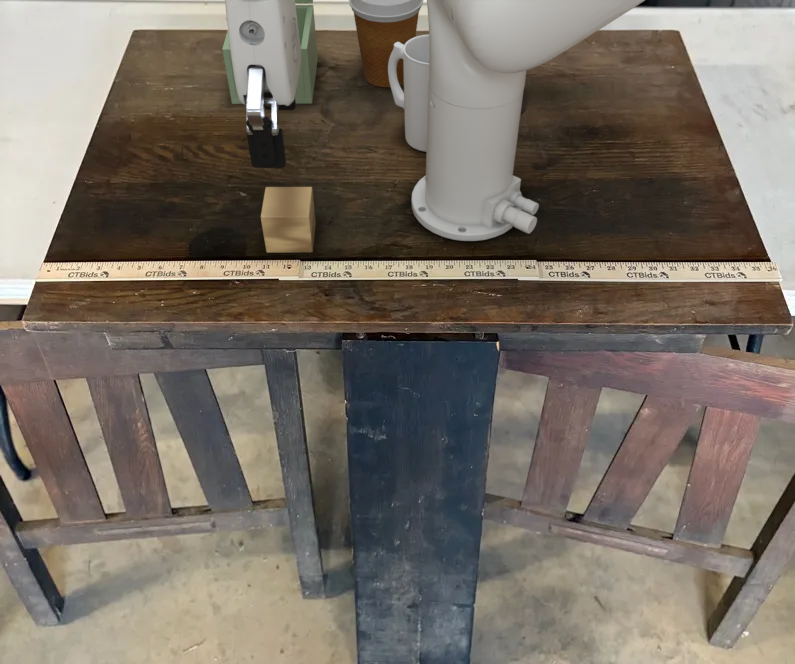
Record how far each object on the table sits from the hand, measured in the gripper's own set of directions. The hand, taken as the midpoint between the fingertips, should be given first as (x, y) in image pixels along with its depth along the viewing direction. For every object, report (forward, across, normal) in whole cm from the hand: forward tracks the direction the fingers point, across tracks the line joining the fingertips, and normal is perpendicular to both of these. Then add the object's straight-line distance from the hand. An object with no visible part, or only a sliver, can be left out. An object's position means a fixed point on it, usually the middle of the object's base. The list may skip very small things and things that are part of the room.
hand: (274, 136), depth 79 cm
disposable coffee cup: (+12, +33, -11) cm, 37 cm away
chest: (+12, +31, +5) cm, 34 cm away
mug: (+12, +19, -15) cm, 27 cm away
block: (+12, -1, -1) cm, 13 cm away
